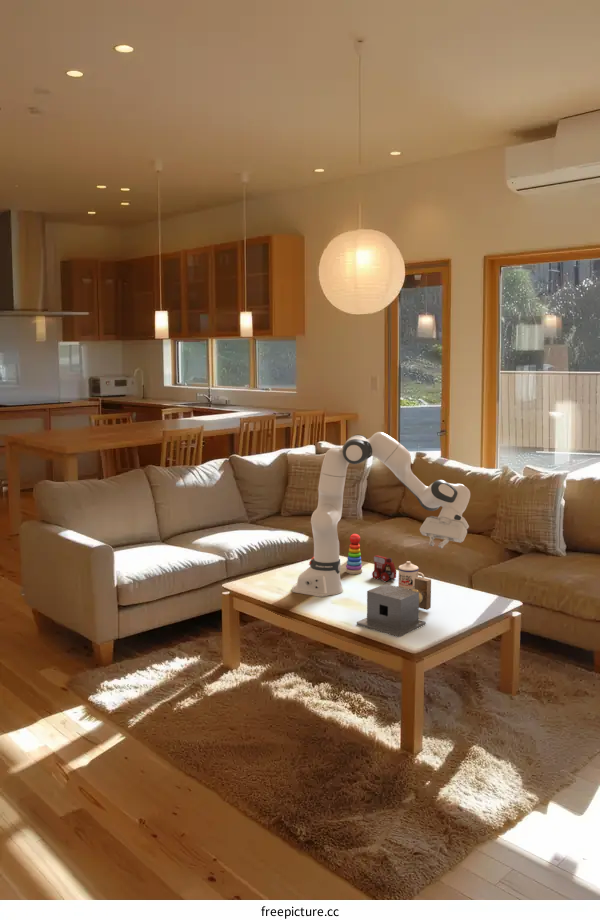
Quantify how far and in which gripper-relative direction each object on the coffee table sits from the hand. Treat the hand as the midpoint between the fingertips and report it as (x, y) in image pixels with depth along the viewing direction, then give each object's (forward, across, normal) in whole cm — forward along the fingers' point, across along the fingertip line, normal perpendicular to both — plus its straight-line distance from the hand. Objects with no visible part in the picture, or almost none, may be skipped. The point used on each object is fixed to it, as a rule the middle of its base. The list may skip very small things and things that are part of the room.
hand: (435, 546), depth 335 cm
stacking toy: (+8, -55, +28) cm, 62 cm away
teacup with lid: (+8, -21, +28) cm, 36 cm away
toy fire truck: (+7, -38, +29) cm, 48 cm away
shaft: (+29, 0, +4) cm, 30 cm away
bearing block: (+39, 0, -3) cm, 39 cm away
